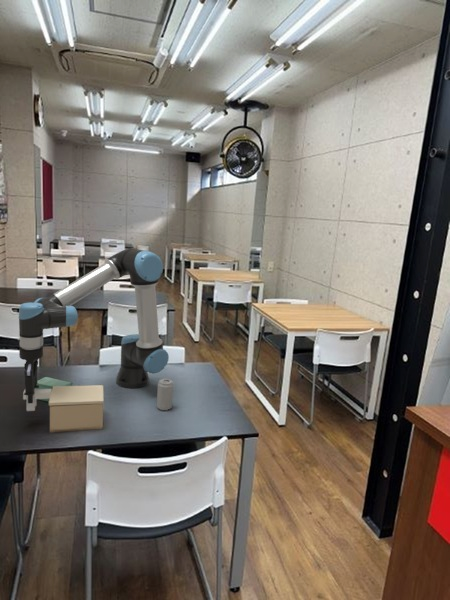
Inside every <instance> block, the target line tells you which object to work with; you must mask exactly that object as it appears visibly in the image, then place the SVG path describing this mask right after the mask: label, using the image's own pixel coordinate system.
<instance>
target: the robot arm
mask: <svg viewBox="0 0 450 600" xmlns="http://www.w3.org/2000/svg"><path fill="white" fill-rule="evenodd" d="M163 271H164V266H163V261H162V259H161V258H160V256H159V255H157V254H156V253H154V252H152V251H149V250H143V249H139V248H133V247H131V248H125V249H122V250H121V251H118V252H117V253H115V254H113V255H112V256H110V257H109V258H107V259H105V261H104V262H103V264H101V265H99V266H97V267H96V268H95V269H93V270H91V271H90V272H88V273H86V274H84V275H83V276H81V277H79V278H77V279H76V280H74V281H73V282H71V283H69V284H68V285H66V286H64V287H63V288H61V289H60V290H57V291H56V292H54V293H52V294H51V295H49V296H47V297H39V298H37V299H36V300H35V301H33V302H23V303H21V304H20V306H19V308H18V309H19V310H18V325H19V327H18V328H19V334H18V335H19V336H18V337H17V341H19V350H18V351H19V358H20V359H21V360H24V361H25V363H24V371H23V373H24V388H25V389H24V390H25V393H24V395H26V399H25V400H26V412H34V411H36V407H37V405H38V403H37V401H38V399H35V392H34V389H35V388H39V385H37V383H38V382H37V381H38V370H39V369H38V368H39V367H38V366H39V359H41V358H42V357H43V355H44V347H43V345H44V330H49V329H57V328H67V327H73V326H75V325H77V323H78V317H79V315H78V311H77V309H76V307H75V306H73V305H74V304H76V303H77V302H79V301H81V300H82V299H84V298H86V297H87V296H89V295H90V294H92V293H93V292H95V291H96V290H98V289H100V288H101V287H103V286H105V285H106V284H108V283H109V282H111V281H113V280H119V279H121V278H122V277H125V276H129V279H130V285H131V286H133V288H134V296H135V297H134V298H135V306H136V307H135V308H136V317H137V328H138V329H137V331H138V334H134V333H133V334H127V335H124V336H123V337H121V342H120V345H121V347H120V348H121V350H120V367H119V369H118V372H117V375H116V378H115V379H116V380H115V382H116V384H117V385H118V386H119V387H122V388H126V389H140V388H143V387H145V386H147V385H148V384H149V374H153V375H154V374H158V373H160V372H162V371H163V370H164V369H165V368H166V366H167V365H168V362H169V358H170V357H169V354H168V352H167V350H166V349H164V343H163V342H164V341H163V339H162V338H160V333H159V320H158V318H159V317H158V306H157V305H158V304H157V295H156V294H157V293H156V292H157V291H156V286H157V285H158V284H159V282H160V281H159V278H161V275H162V274H163ZM148 373H149V374H148Z"/></svg>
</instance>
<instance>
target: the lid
mask: <svg viewBox="0 0 450 600" xmlns="http://www.w3.org/2000/svg"><path fill="white" fill-rule="evenodd" d="M51 390H52V392H51ZM34 392H35V399H37V400H39V399H50V400H49V402H48V406H50V405H76V404H103V405H104V384H103V385H102V384H101V385H100V384H98V385H97V384H96V385H93V384H92V385H72V386H53V389H34ZM22 393H23V394H22V400H26V395H24V393H25V389H24V390H23V392H22Z"/></svg>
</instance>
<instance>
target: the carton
mask: <svg viewBox="0 0 450 600" xmlns="http://www.w3.org/2000/svg"><path fill="white" fill-rule="evenodd" d="M103 423H104V403H103V404H76V405H49V433H51V434H52V433H65V432H79V431H93V430H103V427H104V426H103Z"/></svg>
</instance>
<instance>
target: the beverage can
mask: <svg viewBox="0 0 450 600" xmlns="http://www.w3.org/2000/svg"><path fill="white" fill-rule="evenodd" d="M156 393H157V394H156V408H157V409H158V410H159V411H164V410H165V411H168V409H169V410H170V409H172V408H173V396H174V395H173V393H174V382H173V380H172V379H171V378H161V379H159V380H158V382H157V392H156Z"/></svg>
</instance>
